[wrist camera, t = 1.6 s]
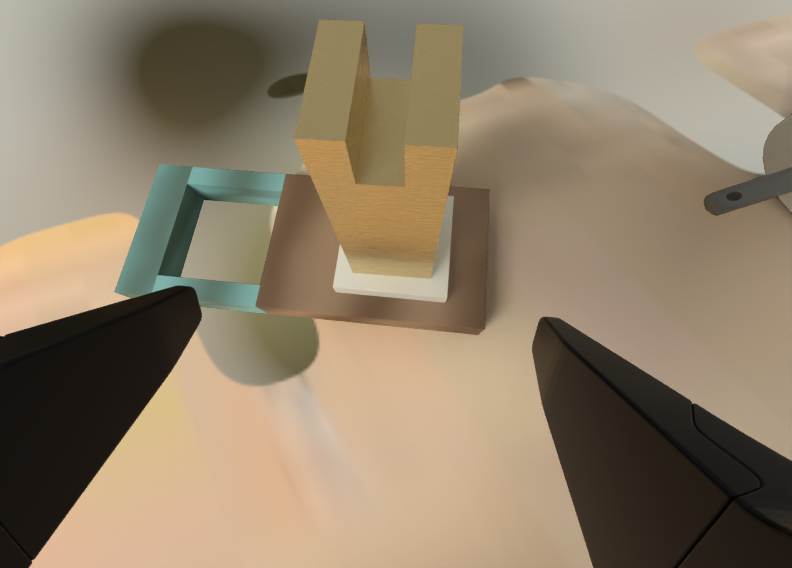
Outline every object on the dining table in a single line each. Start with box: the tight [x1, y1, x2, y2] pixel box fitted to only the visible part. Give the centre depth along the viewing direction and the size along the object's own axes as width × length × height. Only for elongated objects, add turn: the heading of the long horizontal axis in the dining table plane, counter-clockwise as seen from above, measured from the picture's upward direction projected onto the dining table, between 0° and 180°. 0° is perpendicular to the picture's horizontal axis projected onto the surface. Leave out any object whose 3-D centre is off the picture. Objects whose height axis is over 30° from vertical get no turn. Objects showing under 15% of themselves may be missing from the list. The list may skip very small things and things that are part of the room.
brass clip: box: [294, 20, 464, 279], centre depth 15 cm, size 4×4×11 cm
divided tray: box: [114, 165, 489, 335], centre depth 22 cm, size 22×9×3 cm, turn 84°
